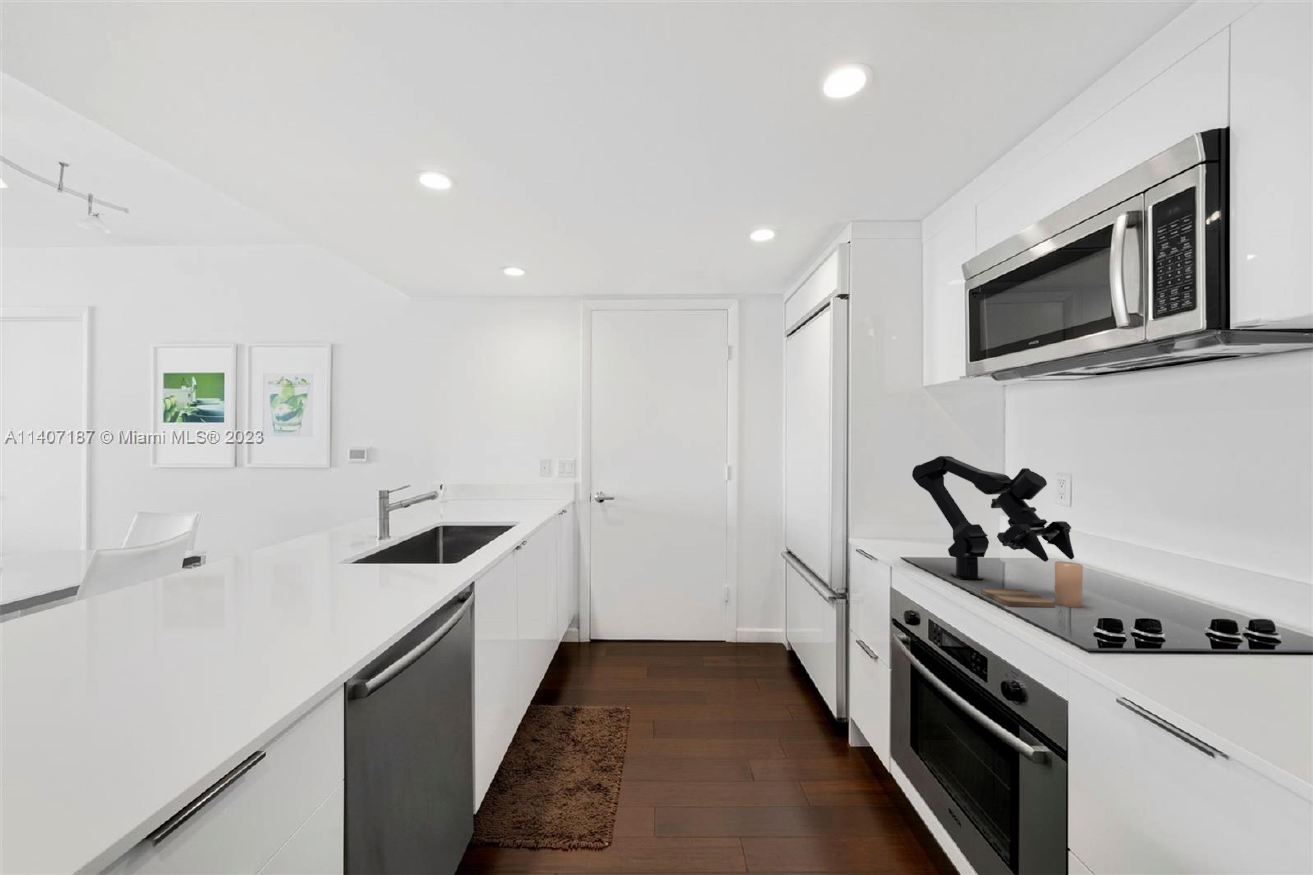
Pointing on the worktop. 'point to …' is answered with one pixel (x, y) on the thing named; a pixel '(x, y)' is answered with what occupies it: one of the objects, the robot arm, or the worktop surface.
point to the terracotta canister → (1069, 584)
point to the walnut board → (1017, 598)
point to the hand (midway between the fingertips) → (1059, 559)
